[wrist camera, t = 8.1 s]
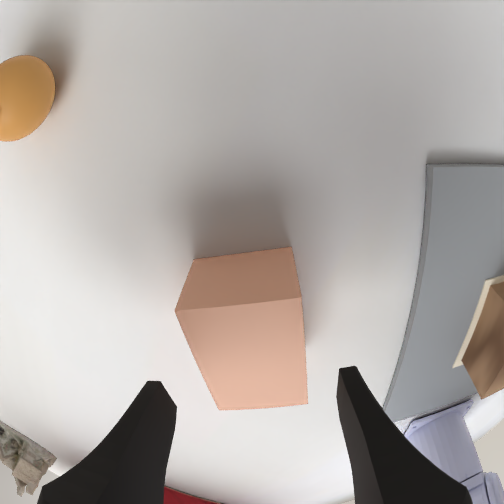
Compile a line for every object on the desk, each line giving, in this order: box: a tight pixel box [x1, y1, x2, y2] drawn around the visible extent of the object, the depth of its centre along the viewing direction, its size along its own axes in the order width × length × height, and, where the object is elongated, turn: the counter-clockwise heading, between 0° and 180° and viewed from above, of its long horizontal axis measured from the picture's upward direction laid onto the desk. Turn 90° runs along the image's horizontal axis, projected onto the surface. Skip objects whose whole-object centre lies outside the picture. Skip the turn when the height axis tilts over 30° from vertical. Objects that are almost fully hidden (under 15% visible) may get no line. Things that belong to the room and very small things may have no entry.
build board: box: [383, 164, 504, 422], centre depth 15 cm, size 22×16×1 cm
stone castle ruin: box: [0, 421, 57, 496], centre depth 31 cm, size 16×16×15 cm
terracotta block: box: [175, 247, 308, 410], centre depth 14 cm, size 7×5×4 cm, turn 9°
